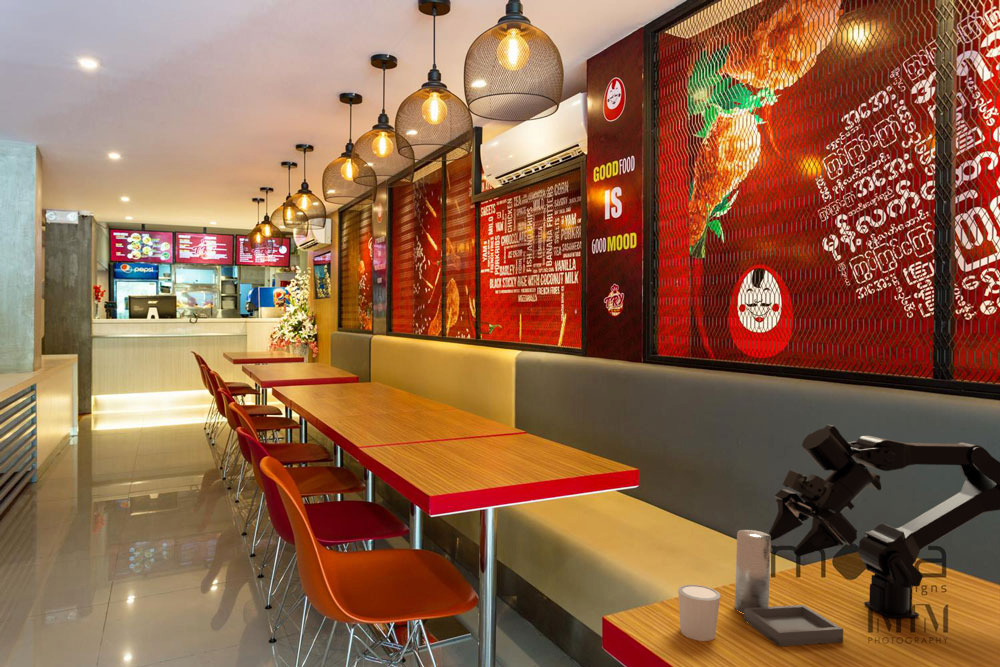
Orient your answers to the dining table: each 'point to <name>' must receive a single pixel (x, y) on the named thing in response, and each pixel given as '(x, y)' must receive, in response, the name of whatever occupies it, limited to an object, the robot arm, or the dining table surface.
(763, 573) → the silver metal cylinder
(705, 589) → the white cup
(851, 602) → the dining table surface
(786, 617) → the tray
